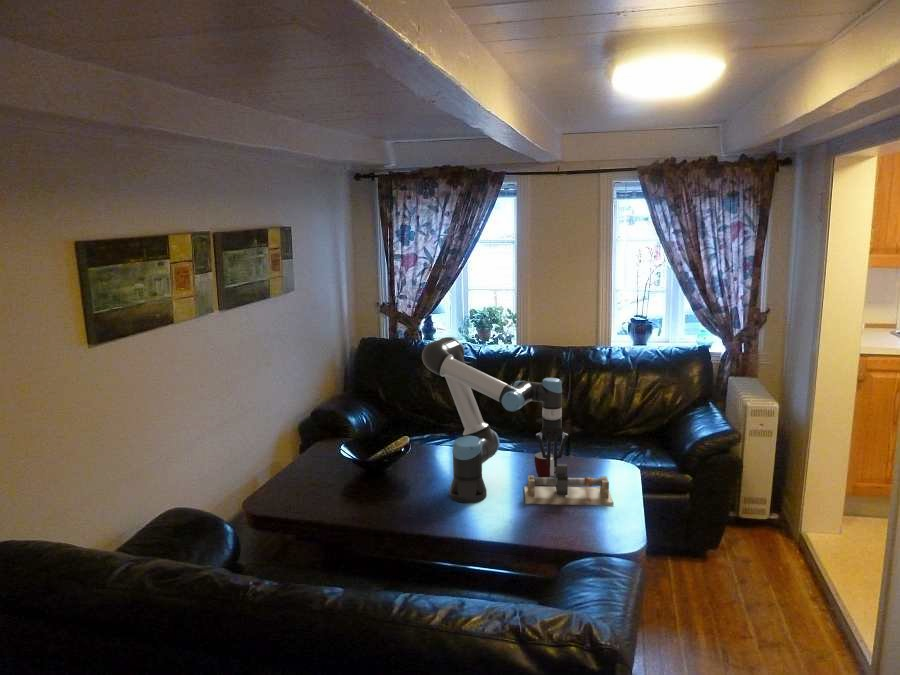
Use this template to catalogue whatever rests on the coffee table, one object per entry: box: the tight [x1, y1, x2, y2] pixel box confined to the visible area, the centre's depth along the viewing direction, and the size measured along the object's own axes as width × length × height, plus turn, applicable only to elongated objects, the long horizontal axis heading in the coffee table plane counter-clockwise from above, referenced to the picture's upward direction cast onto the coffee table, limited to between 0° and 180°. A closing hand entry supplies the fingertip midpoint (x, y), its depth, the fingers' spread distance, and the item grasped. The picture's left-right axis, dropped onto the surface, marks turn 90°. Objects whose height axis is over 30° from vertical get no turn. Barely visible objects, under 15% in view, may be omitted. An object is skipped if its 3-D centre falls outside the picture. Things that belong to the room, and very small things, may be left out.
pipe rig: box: [523, 474, 614, 506], centre depth 254 cm, size 34×14×8 cm, turn 85°
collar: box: [555, 463, 569, 495], centre depth 253 cm, size 4×8×11 cm, turn 175°
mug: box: [534, 451, 557, 478], centre depth 273 cm, size 11×8×10 cm
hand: (551, 474), depth 253 cm, fingers closed
